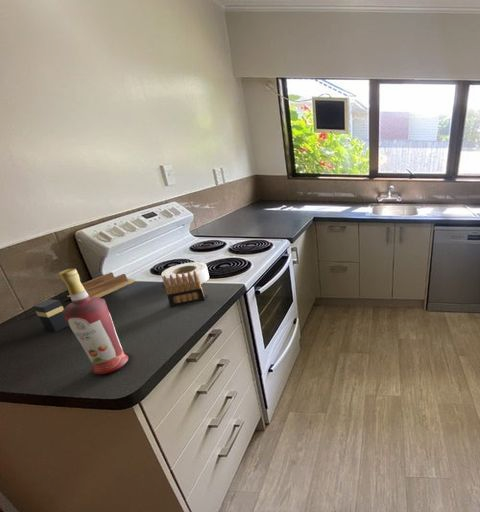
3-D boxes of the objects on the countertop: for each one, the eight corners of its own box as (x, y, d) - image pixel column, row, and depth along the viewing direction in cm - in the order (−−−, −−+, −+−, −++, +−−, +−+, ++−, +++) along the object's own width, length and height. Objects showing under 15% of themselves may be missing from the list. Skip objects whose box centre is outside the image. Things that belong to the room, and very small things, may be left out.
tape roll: (187, 271, 128) (183, 260, 126) (217, 274, 125) (215, 263, 123) (154, 288, 114) (150, 276, 112) (188, 292, 111) (184, 279, 109)
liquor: (137, 356, 79) (98, 263, 68) (119, 376, 72) (72, 277, 61) (107, 359, 78) (62, 265, 67) (86, 380, 71) (32, 279, 60)
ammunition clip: (205, 298, 107) (197, 269, 103) (205, 300, 106) (197, 271, 101) (171, 305, 103) (161, 275, 98) (170, 307, 101) (160, 277, 97)
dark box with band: (45, 330, 89) (32, 305, 86) (62, 322, 93) (49, 298, 89) (55, 332, 88) (42, 307, 85) (71, 324, 92) (59, 300, 89)
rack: (67, 298, 107) (63, 289, 105) (113, 279, 121) (109, 270, 120) (90, 301, 105) (86, 292, 103) (134, 281, 119) (131, 273, 118)
